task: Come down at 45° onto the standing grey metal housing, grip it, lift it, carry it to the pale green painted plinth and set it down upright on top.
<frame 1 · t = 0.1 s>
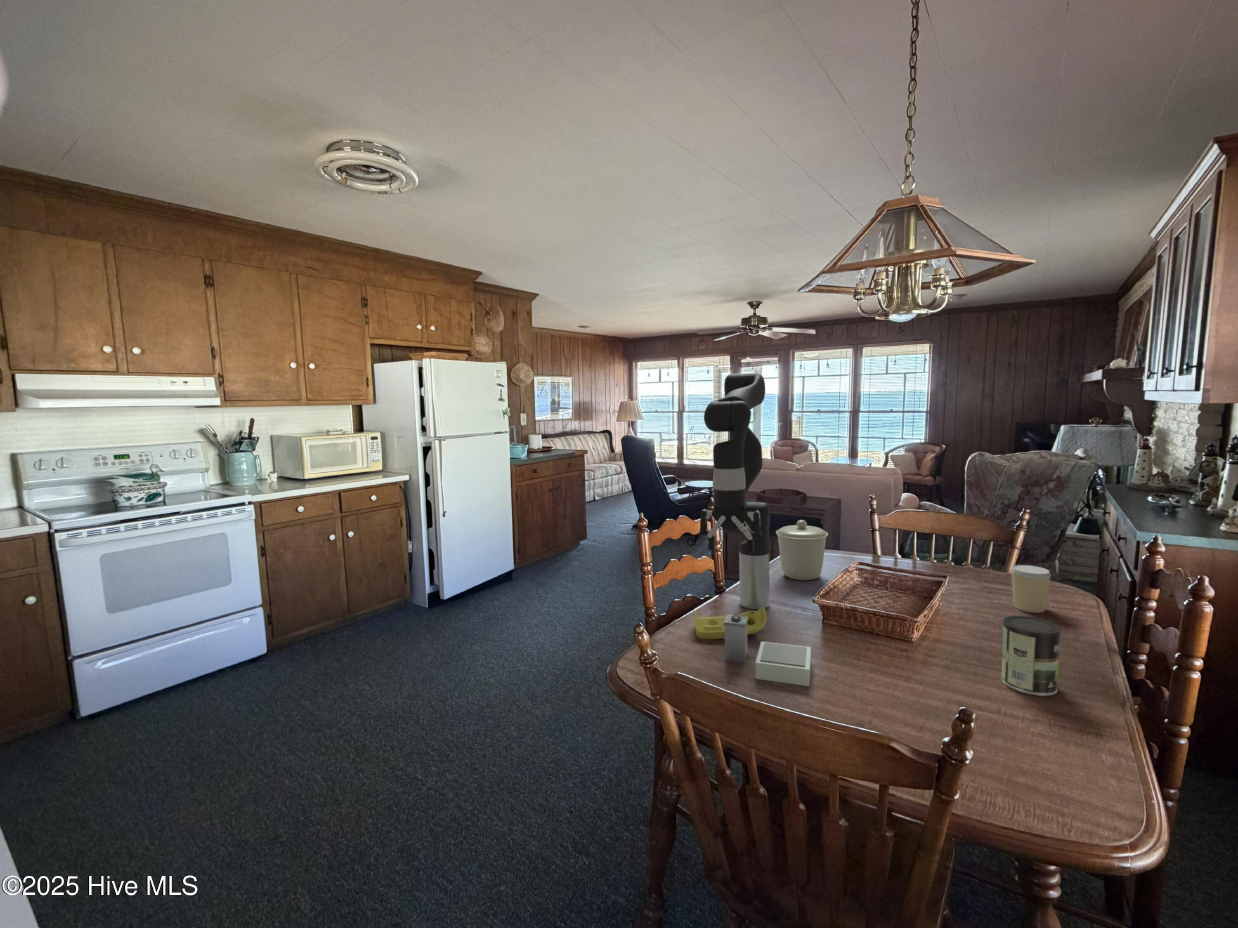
hand: (730, 553, 132), 29 cm above the table, tool pointing down, fingers open, 8 cm apart
cream jar: (1029, 608, 167), on the table
plastic component: (729, 634, 156), on the table
stand: (783, 670, 133), on the table
coffee can: (1028, 685, 124), on the table
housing: (736, 656, 141), on the table
canister: (801, 576, 203), on the table
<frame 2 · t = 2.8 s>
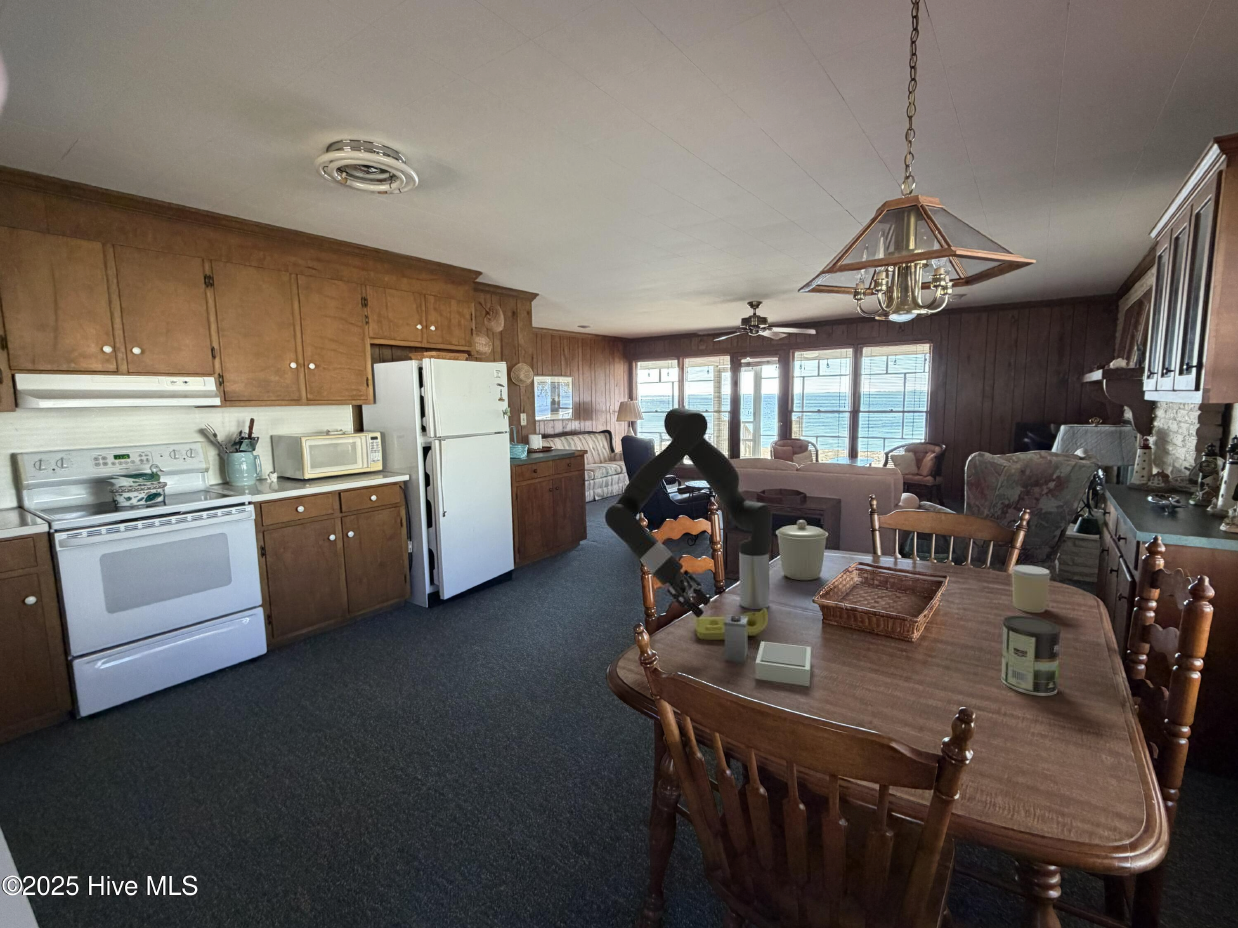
hand: (704, 609, 143), 12 cm above the table, tool tilted 45°, fingers open, 8 cm apart
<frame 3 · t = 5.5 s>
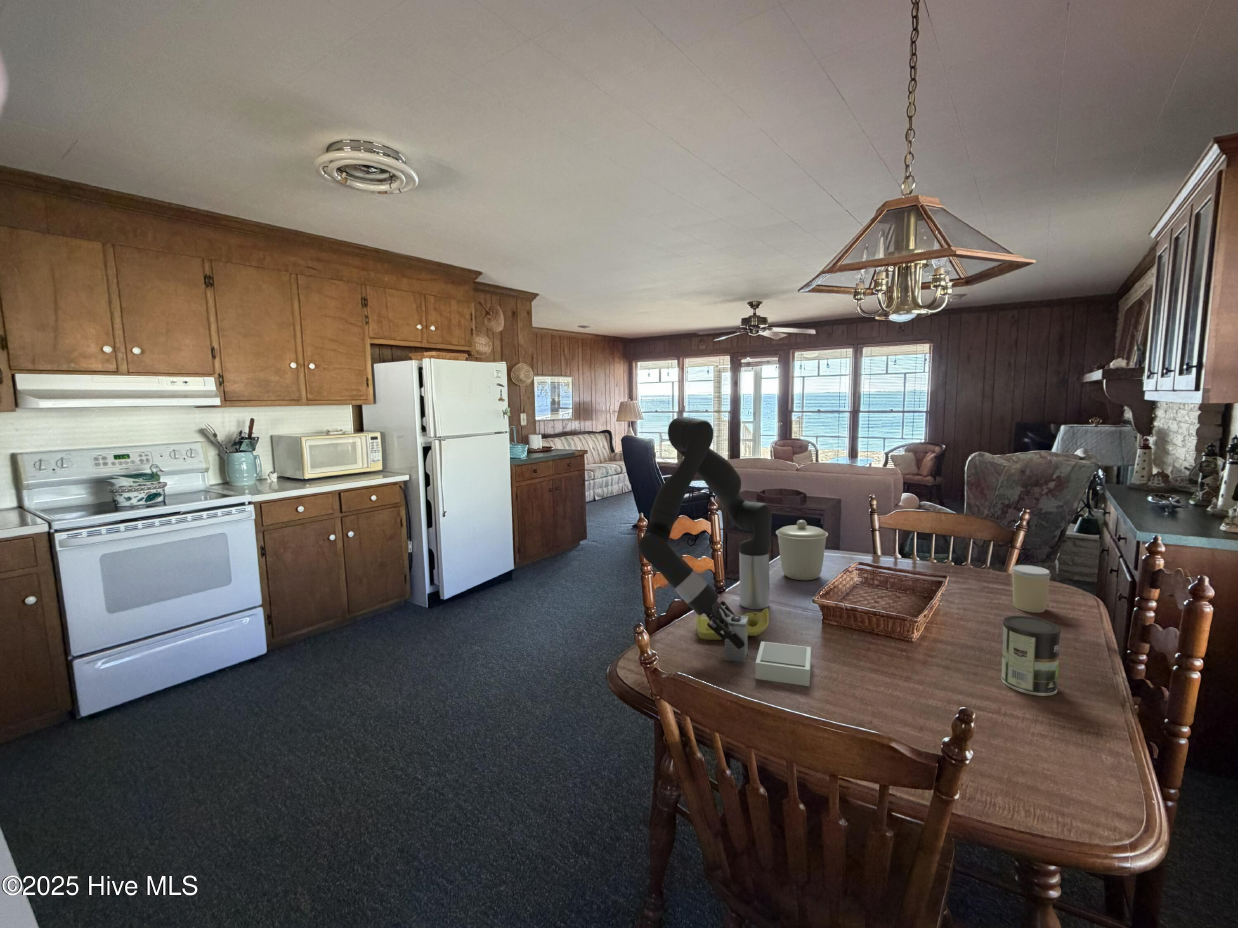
hand: (743, 641, 140), 4 cm above the table, tool tilted 45°, fingers closed on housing, 5 cm apart
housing: (736, 656, 141), on the table, touching gripper
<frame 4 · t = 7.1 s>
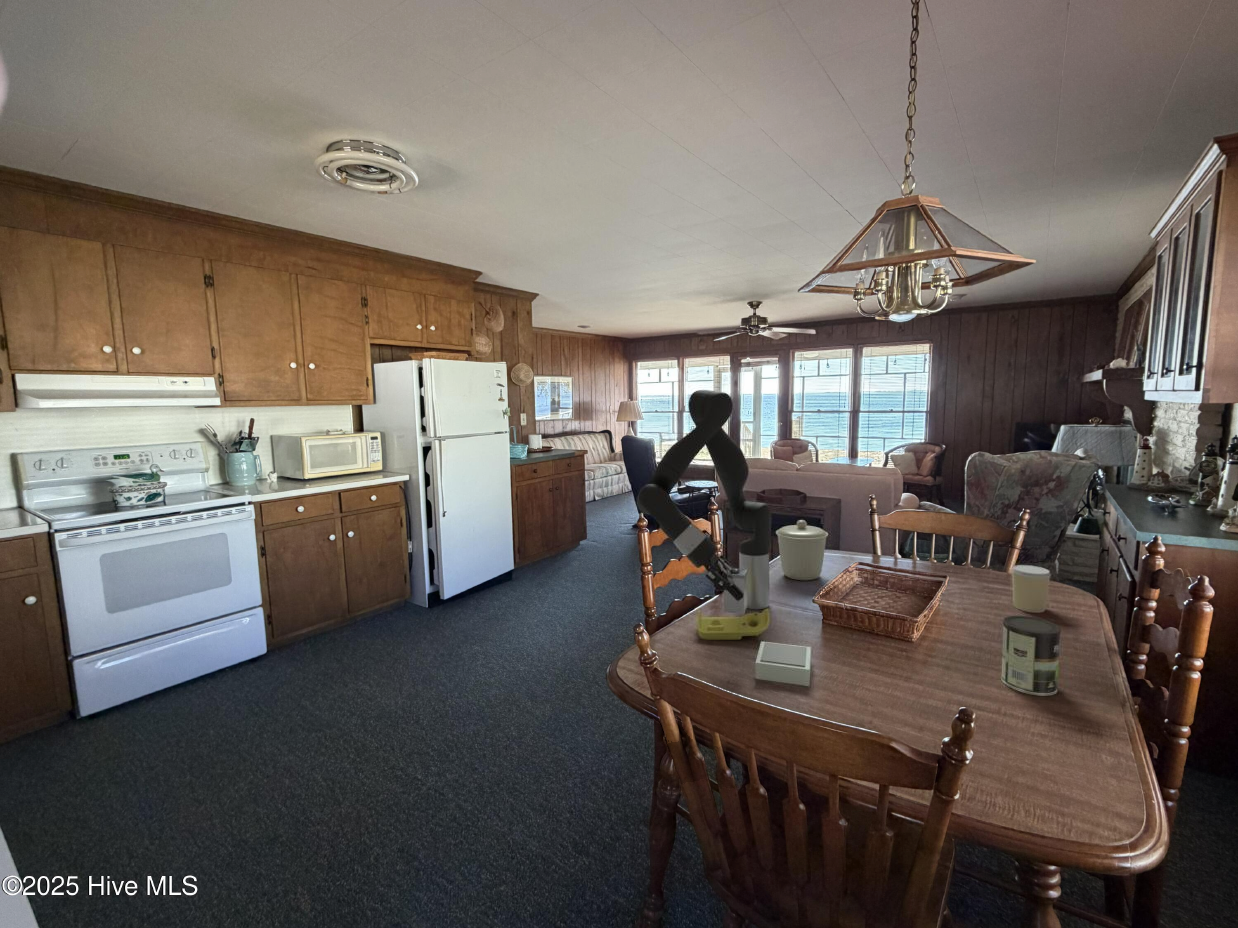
hand: (742, 594, 139), 17 cm above the table, tool tilted 45°, fingers closed on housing, 5 cm apart
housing: (735, 609, 140), point 12 cm above the table, touching gripper
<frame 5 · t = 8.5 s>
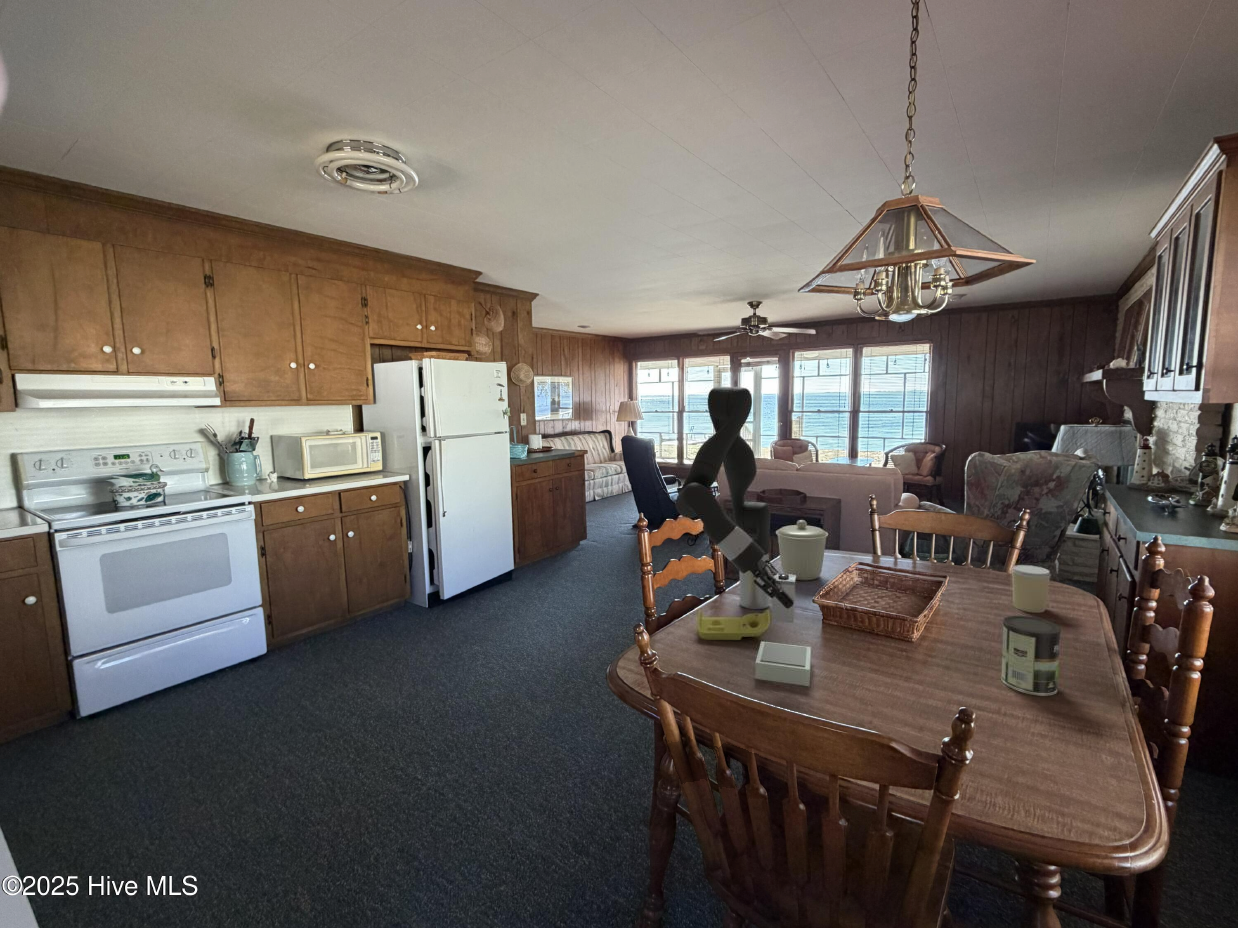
hand: (791, 601, 131), 17 cm above the table, tool tilted 45°, fingers closed on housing, 5 cm apart
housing: (783, 617, 132), point 13 cm above the table, touching gripper
when the fingers open (9 cm above the table, at t = 10.6 s): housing stays where it is, resting on stand.
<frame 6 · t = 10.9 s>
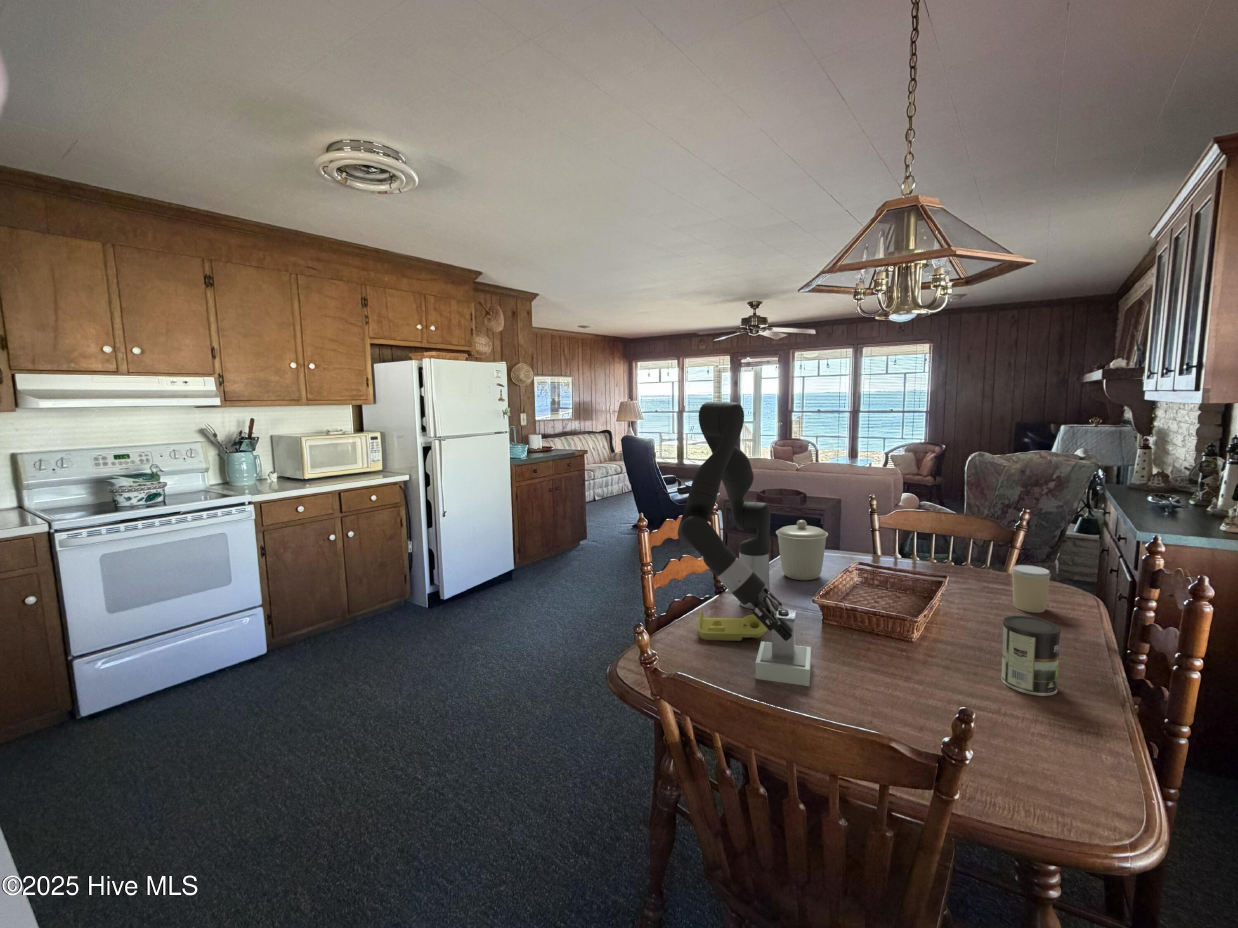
hand: (790, 631, 132), 10 cm above the table, tool tilted 45°, fingers open, 7 cm apart
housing: (783, 653, 133), point 4 cm above the table, touching stand
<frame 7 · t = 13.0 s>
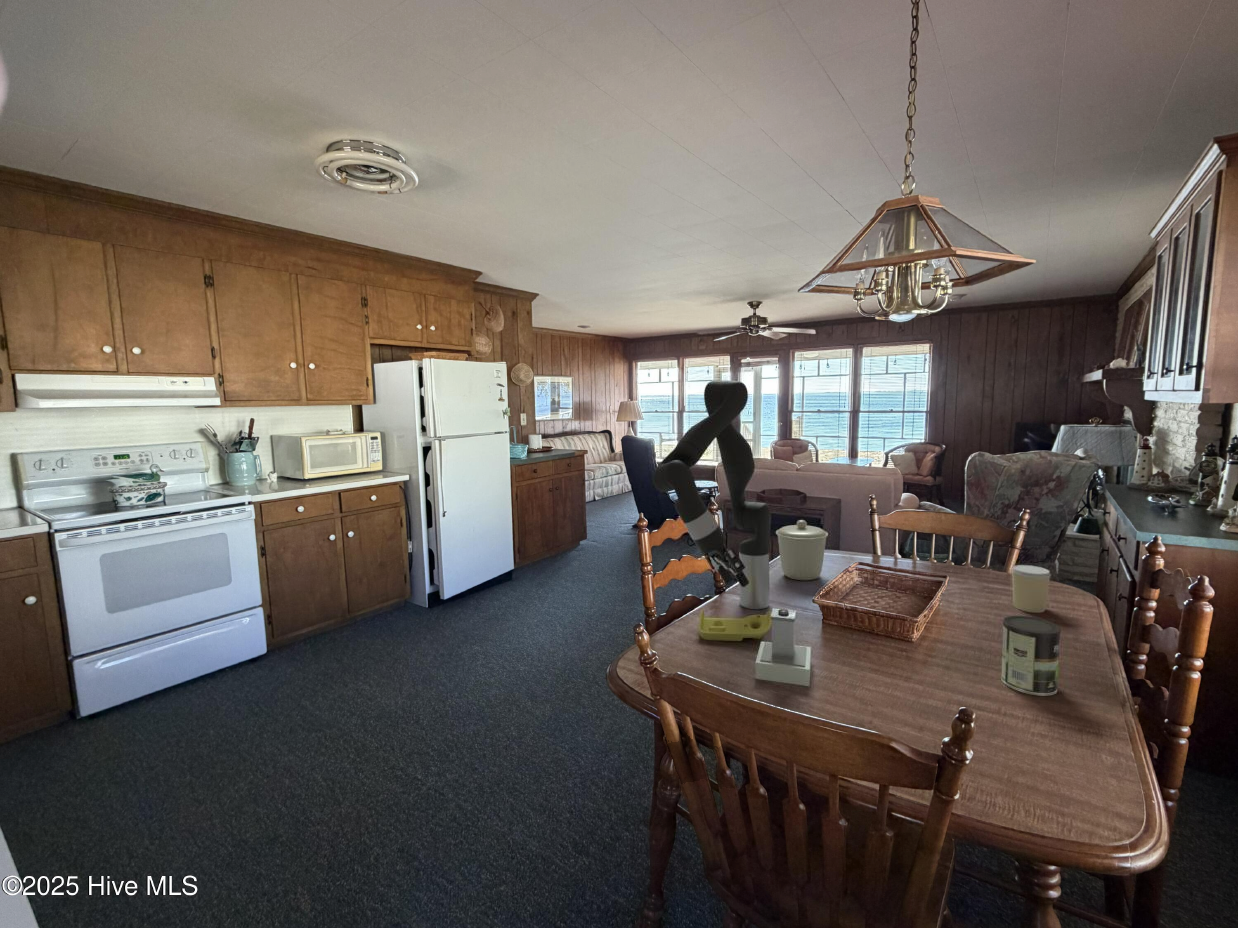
hand: (737, 583, 142), 19 cm above the table, tool tilted 30°, fingers open, 8 cm apart
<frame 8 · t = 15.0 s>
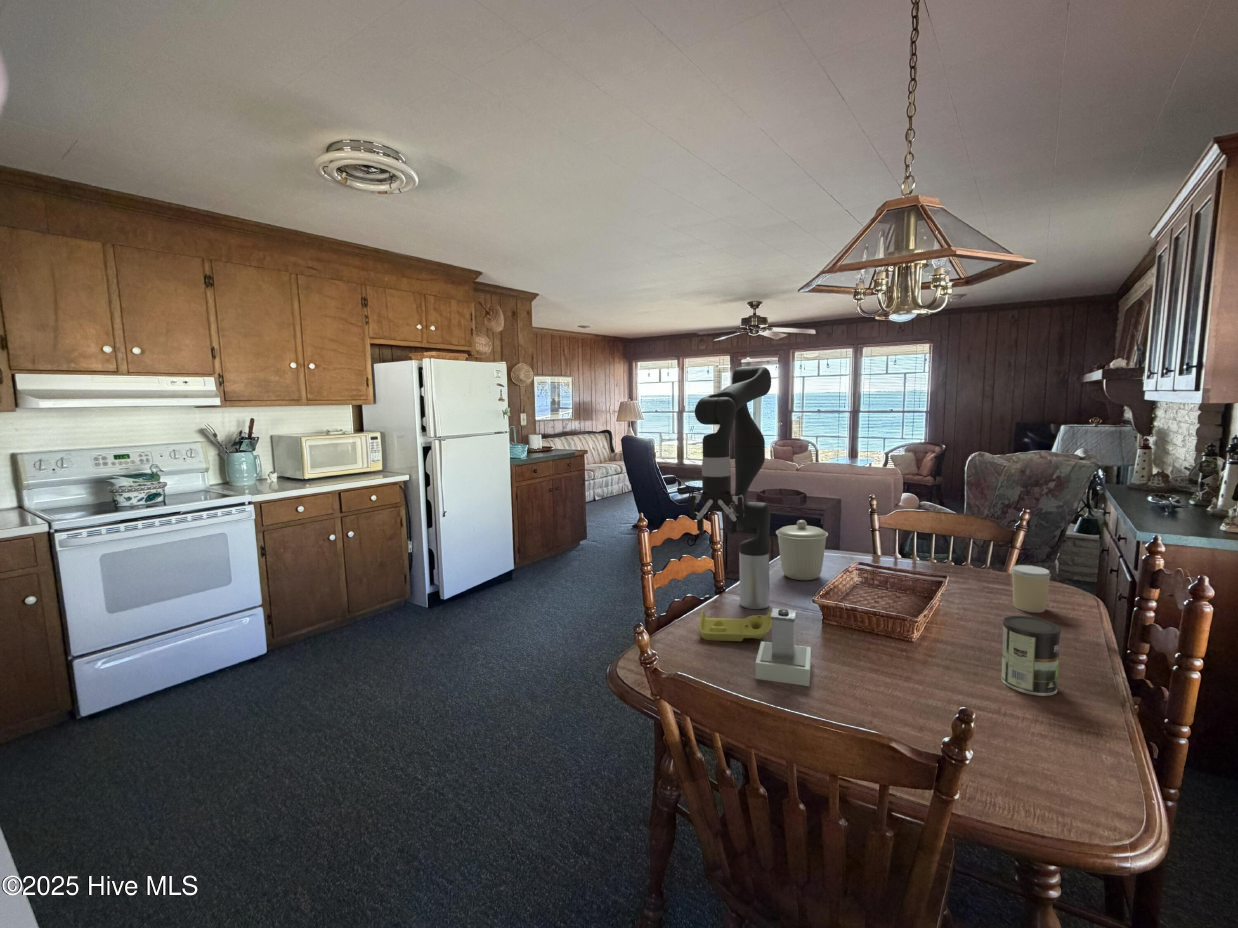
hand: (717, 533, 148), 30 cm above the table, tool pointing down, fingers open, 8 cm apart
at the end: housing inside the target area on the stand (0.1 cm from its centre), point 4.3 cm above the stand's base; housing tilted 0°; the gripper is holding nothing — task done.
